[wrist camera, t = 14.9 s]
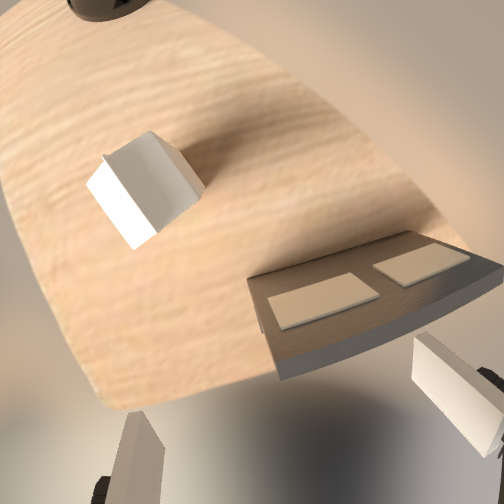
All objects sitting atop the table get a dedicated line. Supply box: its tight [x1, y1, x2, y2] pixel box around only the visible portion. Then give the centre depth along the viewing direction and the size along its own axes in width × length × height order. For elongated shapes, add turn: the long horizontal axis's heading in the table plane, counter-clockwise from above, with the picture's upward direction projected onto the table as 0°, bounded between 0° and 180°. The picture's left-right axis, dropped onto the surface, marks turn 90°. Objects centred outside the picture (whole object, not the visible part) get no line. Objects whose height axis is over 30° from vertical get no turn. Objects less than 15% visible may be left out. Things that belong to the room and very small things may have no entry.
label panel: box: [247, 230, 504, 381], centre depth 34 cm, size 8×26×20 cm, turn 104°
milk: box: [87, 131, 206, 250], centre depth 27 cm, size 6×6×22 cm
